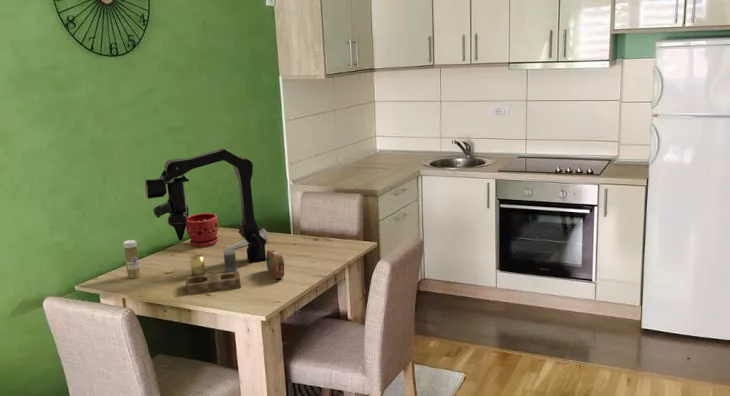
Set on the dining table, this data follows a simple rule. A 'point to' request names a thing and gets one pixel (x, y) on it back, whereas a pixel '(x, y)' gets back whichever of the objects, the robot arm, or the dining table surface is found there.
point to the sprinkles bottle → (131, 258)
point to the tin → (275, 264)
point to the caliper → (262, 233)
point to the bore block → (212, 282)
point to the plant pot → (202, 229)
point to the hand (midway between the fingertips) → (181, 236)
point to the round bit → (197, 265)
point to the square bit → (230, 261)
